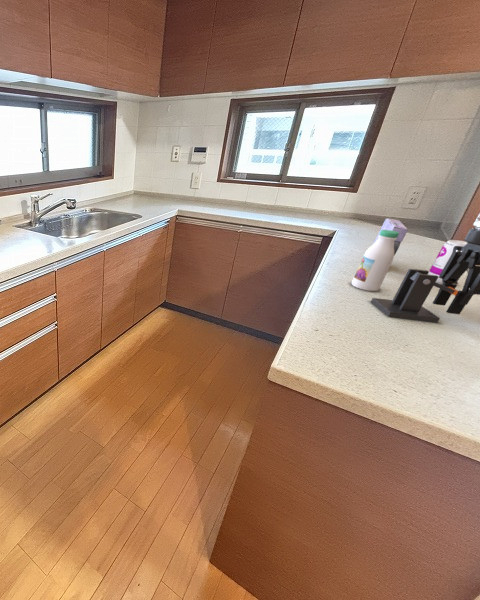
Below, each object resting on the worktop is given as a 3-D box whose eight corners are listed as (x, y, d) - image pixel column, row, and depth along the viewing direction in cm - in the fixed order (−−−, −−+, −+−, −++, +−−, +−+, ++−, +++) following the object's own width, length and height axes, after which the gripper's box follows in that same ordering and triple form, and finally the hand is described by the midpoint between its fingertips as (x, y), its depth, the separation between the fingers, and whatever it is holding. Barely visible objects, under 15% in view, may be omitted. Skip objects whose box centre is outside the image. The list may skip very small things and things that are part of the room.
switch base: (415, 307, 101) (436, 268, 95) (437, 322, 92) (462, 281, 86) (370, 301, 103) (388, 264, 98) (388, 316, 95) (409, 276, 89)
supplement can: (424, 280, 121) (445, 241, 114) (426, 275, 126) (446, 238, 119) (454, 287, 116) (479, 247, 109) (455, 282, 121) (479, 243, 114)
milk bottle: (377, 286, 115) (403, 230, 106) (379, 293, 109) (408, 235, 100) (350, 281, 119) (373, 227, 110) (351, 287, 113) (376, 231, 104)
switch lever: (447, 293, 95) (454, 286, 94) (460, 300, 90) (468, 293, 89) (406, 276, 96) (413, 269, 94) (417, 283, 91) (424, 275, 90)
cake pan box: (388, 272, 128) (409, 228, 120) (372, 269, 131) (392, 226, 123) (380, 259, 143) (399, 219, 135) (366, 257, 145) (383, 217, 137)
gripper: (449, 221, 93) (410, 294, 103) (504, 237, 77) (452, 321, 87) (482, 223, 91) (439, 297, 101) (545, 240, 75) (487, 325, 86)
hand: (445, 308), depth 94 cm, fingers closed on switch lever, 5 cm apart
